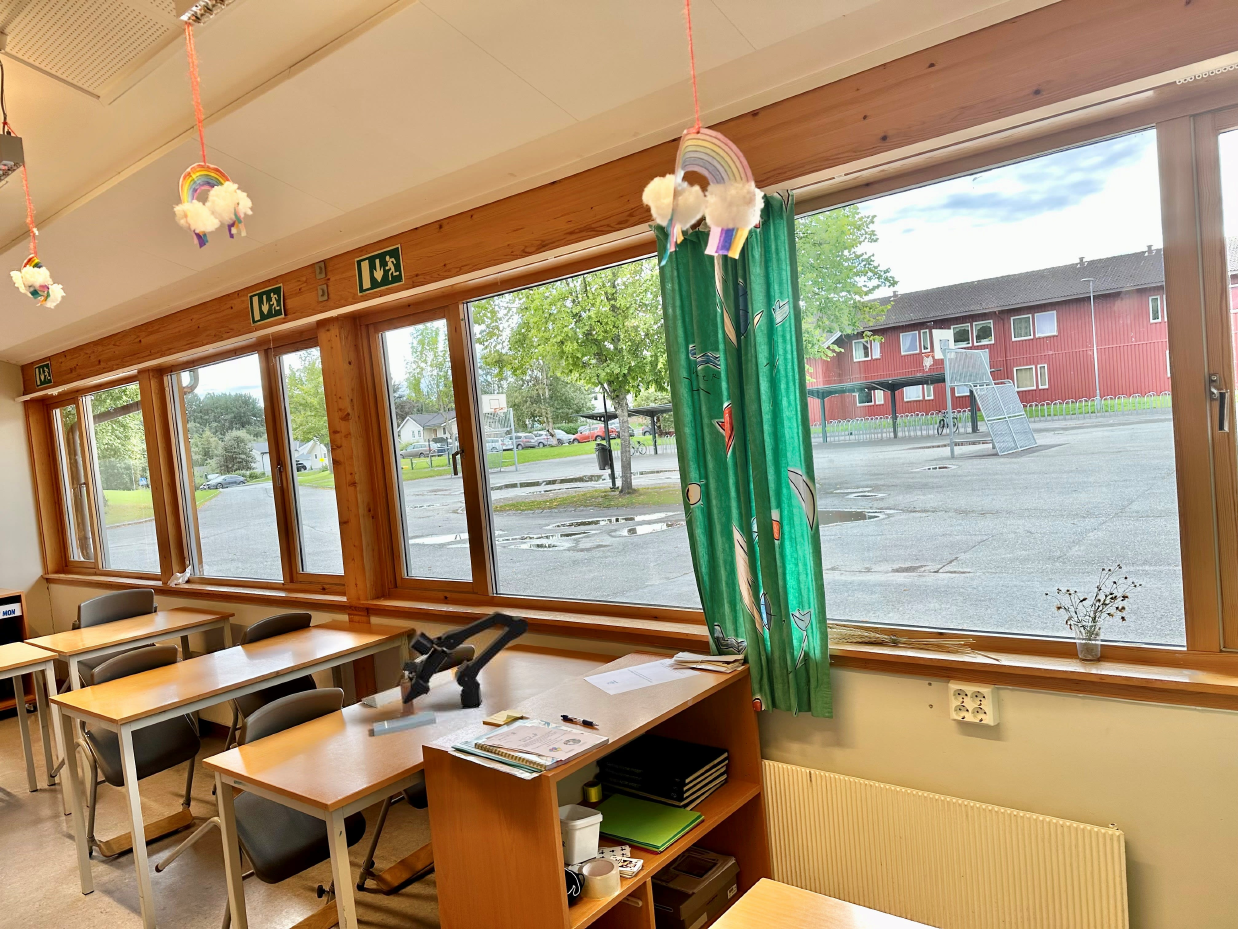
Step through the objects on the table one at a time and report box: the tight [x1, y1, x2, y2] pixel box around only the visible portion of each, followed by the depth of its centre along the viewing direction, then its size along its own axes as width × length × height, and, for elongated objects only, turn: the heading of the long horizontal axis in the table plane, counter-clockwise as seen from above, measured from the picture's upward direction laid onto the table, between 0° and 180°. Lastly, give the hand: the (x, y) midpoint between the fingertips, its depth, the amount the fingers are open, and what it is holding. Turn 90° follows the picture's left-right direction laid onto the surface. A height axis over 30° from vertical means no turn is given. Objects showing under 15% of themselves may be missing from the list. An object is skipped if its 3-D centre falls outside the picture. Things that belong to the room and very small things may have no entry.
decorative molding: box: [361, 669, 454, 708], centre depth 299 cm, size 34×5×10 cm
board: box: [372, 710, 437, 737], centre depth 260 cm, size 20×8×2 cm, turn 110°
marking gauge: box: [399, 677, 419, 718], centre depth 267 cm, size 6×5×14 cm
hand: (403, 700), depth 267 cm, fingers open, 7 cm apart
